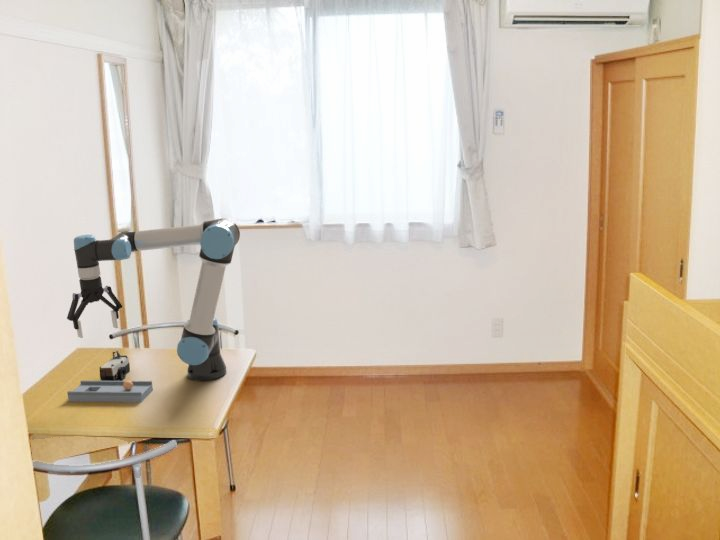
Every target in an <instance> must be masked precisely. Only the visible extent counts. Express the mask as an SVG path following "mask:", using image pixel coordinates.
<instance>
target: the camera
mask: <svg viewBox="0 0 720 540" xmlns="http://www.w3.org/2000/svg"><path fill="white" fill-rule="evenodd" d="M119 349H120V348H116V349H115V350H113V351H112V358H110V360H108V361H107V362H106V363H105V364H103V365H102V366H99V378H100V381H125V379H126V375H127V374H128V373H129V372H130V370H131V369H130V361H129V360H130V359H129V356H128V355H125V354H121V353H120V352H119ZM115 353H116V355H115Z"/></svg>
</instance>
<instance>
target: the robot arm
mask: <svg viewBox="0 0 720 540" xmlns="http://www.w3.org/2000/svg"><path fill="white" fill-rule="evenodd" d="M240 231H241V230H240V228H239V226H238V225H237V223H236V222H235V221H233V220H232V219H229V218H218V219H213V220H205V221H202V223H200V224H193V225H183V226H176V227H175V226H174V227H173V226H172V227H166V228H156V229H147V230H139V231H138V230H137V231H130V230H124V231H121V232H119V233H118V234H117V235H115V236H113V237H112V238H110V239H103V240H97V239H96V236H95V235H93V234H81V235H78V236H75V237H74V239H73V248H74V249H73V250H74V256H75V260H76V261H75V262H76V267H77V274H78V278H79V280H78V281H79V285H80V286H79V287H80V293H75V292H74V293H72V300H71V301H72V302H71V305H70V307H69V310H68V314H67V316H66V320H68V321H70V322H72V325H73V328H74V329H75V330H76V331H77V332H76V333H77V337H78V338H80V339H83V335H84V334H83V330H82V329H83V328H82V322H81V320H80V317H81V316H82V314H83V312H84V310H85V309H86V307H87V306H88V305H89V304H92V303H94V302H100V301H101V302H103V303H104V304H105V305H106V306H108V307H109V308H110V309H112V310H110V316H111V321H112V327H113V328H114V329H119V326H118V319H119V317H120V316H119V311H120V309H122V308H123V305H122V303H121V302H120V300H119V299H118V298H117V296H116V295H115V294H114V292H113V291H112V287H111V286H109V285H105V286H104V287H103V283H102V278H101V270H100V263H99V262H101V261H102V262H105V261H107V262H108V261H123V260H128V259H130V257H131V255H132V253H133V252H141V251H142V252H143V251H152V250H153V251H154V250H158V249H159V250H160V249H161V250H162V249H170V248H180V247H181V248H182V247H191V246H198V245H199V246H200V251H199V255H198V256H199V258H200V260H201V265H200V271H199V275H198V280H197V285H196V289H195V294H194V298H193V304H192V306H191V311H190V315H189V316H190V317H189V319H188V320H187V321H186V323H184V325H183V330H182V333H181V338H180V341H179V342H178V343H177V347H176V352H177V353H176V354H177V356H178V358H179V359H180V360H181V361H182V362H183V363H185V364H187V365H188V367H187V378H188V379H190V380H192V381H200V382H201V381H213V380H216V379H219V378H222V377H223V376H225V375H226V373H227V365H226V364H225V360H224V358H223V356H222V354H221V345H220V344H221V343H220V336H219V335H220V334H219V324H218V323H219V322H218V319H217V318H215V315H216V311H217V308H218V307H217V306H218V303H219V302H218V301H219V298H220V293H221V289H222V283H223V280H224V275H225V271H226V268H227V266H228V265H230V264H231V263H232V259H233V255H234V250H235V248H236V245H237V244H238V243H239V240H240V237H241V232H240ZM104 293H106V294H107V295H108V296H109V298H110V299H111V300H112V302H113V303H112V302H111V301H109V300H108V299H107V298H106V297H105V296H103V294H104ZM80 298H82V300H80ZM79 301H80V303H79ZM78 305H79V306H78ZM77 307H78V308H77Z"/></svg>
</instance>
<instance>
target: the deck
mask: <svg viewBox="0 0 720 540" xmlns="http://www.w3.org/2000/svg"><path fill="white" fill-rule="evenodd" d="M125 381H126V380H119V381H101V380H80V382H79V383H80V384H79V385H78V386H77V387H76V388H74V389H73V390H72V391H71V390H70V391H67V399H68V402H72V403H73V402H75V403H76V402H78V403H79V402H83V403H85V402H89V403H90V402H92V403H95V402H97V403H101V402H103V403H142V402H143V401H144V400H145V399H147V397H149V395H150V394H151V393H152V392H153V390H154V387H153V381H152V380H130V381H131V382H132V383H133V387H132V388H131V389H130V390H126V389H124V387H123V383H124V382H125Z"/></svg>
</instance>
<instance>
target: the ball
mask: <svg viewBox="0 0 720 540" xmlns="http://www.w3.org/2000/svg"><path fill="white" fill-rule="evenodd" d="M124 381H125V382H124V383H123V387H124V389H126V390H130V389H131V388H132V387H133V383H132V382H131V381H132V380H124Z"/></svg>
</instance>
